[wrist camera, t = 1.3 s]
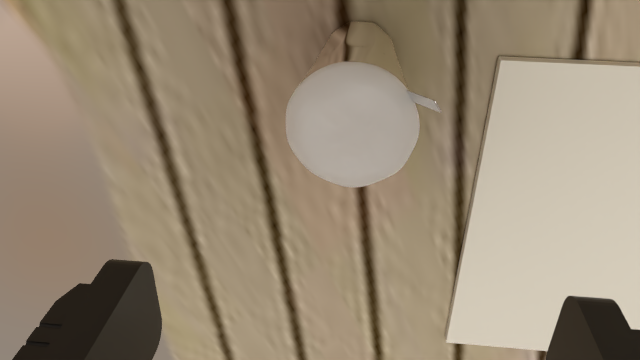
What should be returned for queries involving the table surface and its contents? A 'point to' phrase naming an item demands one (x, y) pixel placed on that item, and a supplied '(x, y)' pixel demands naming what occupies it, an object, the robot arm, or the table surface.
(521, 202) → the mat
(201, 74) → the table surface
